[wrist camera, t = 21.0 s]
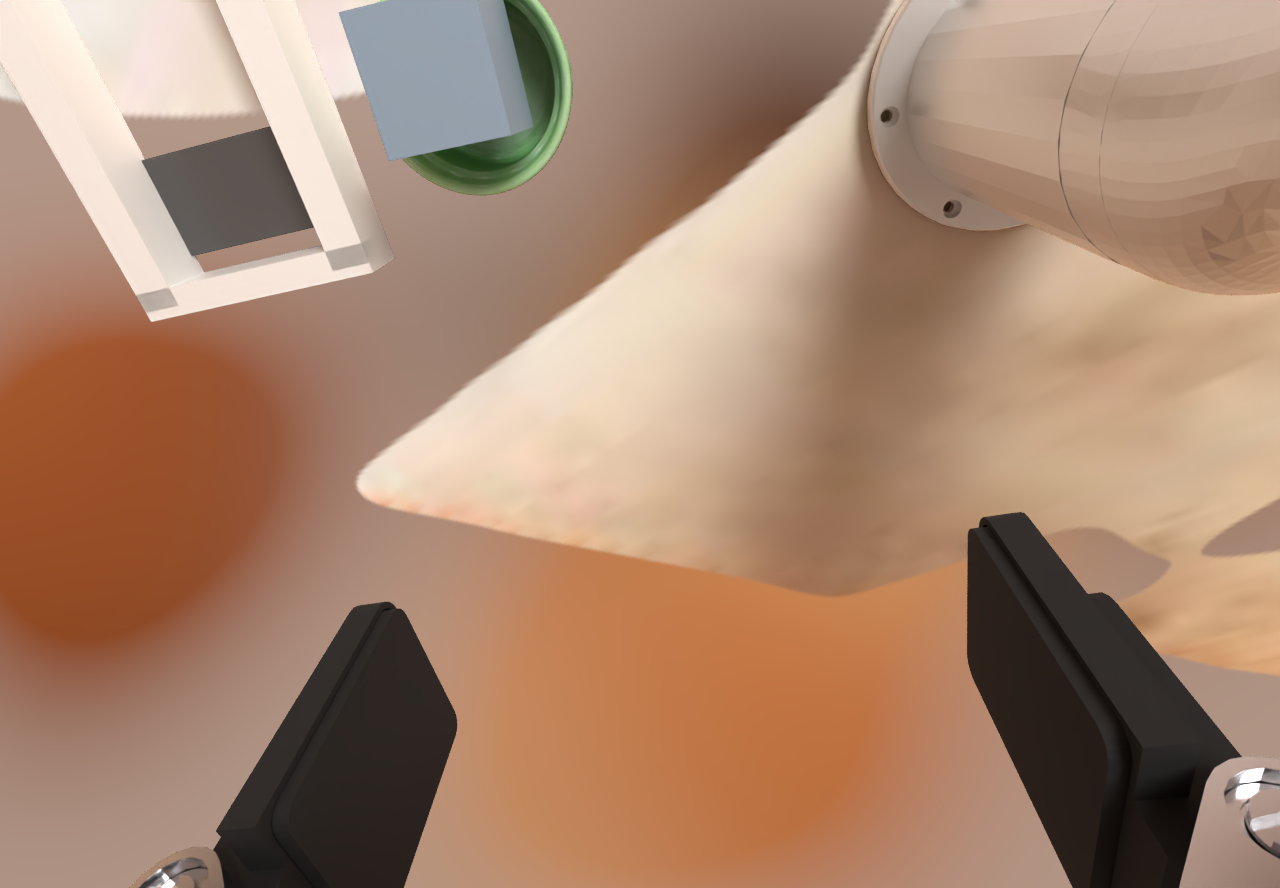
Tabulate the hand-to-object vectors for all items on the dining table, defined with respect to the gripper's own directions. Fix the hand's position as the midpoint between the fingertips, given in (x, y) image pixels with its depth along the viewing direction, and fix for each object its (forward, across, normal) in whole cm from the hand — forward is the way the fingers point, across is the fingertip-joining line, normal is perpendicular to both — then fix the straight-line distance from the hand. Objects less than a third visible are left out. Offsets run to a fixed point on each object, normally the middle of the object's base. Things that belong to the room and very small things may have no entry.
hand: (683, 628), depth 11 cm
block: (+24, +8, -10) cm, 27 cm away
